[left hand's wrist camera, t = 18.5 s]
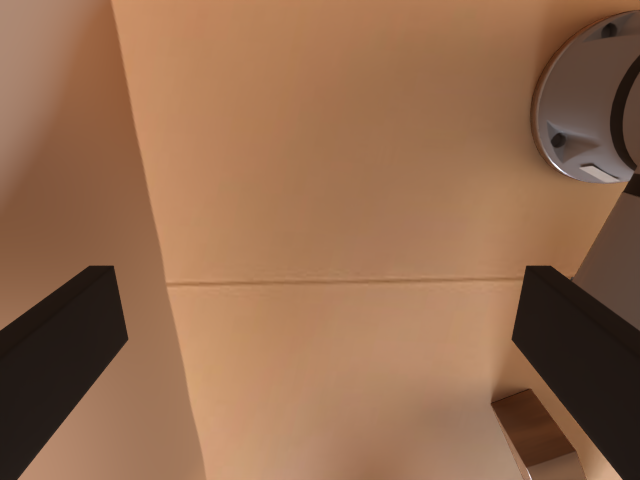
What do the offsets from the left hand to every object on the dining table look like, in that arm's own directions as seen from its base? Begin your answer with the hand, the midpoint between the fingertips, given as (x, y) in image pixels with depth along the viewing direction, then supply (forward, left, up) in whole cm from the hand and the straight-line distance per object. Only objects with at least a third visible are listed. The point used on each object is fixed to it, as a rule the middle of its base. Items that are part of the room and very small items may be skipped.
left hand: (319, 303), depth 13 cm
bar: (+31, +39, -29) cm, 58 cm away
